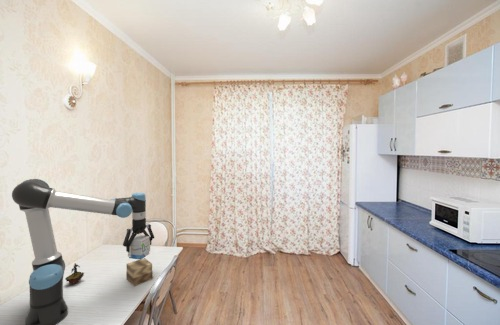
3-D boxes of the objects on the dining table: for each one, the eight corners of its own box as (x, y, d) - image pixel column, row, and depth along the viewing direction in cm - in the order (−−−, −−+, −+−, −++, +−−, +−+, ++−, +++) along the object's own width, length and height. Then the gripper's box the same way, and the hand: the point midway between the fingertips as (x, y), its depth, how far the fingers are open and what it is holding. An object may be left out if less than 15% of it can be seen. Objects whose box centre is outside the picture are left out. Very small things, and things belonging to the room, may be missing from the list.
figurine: (75, 278, 144) (74, 259, 144) (87, 279, 144) (87, 259, 143) (61, 287, 135) (61, 267, 134) (74, 288, 134) (74, 267, 134)
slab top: (133, 278, 137) (133, 270, 137) (126, 271, 144) (126, 263, 144) (152, 271, 145) (152, 263, 145) (144, 265, 152) (144, 257, 152)
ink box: (141, 259, 139) (140, 240, 139) (128, 258, 141) (128, 239, 141) (149, 253, 148) (149, 235, 147) (138, 252, 149) (137, 234, 149)
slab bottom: (134, 286, 137) (134, 278, 137) (126, 280, 144) (126, 272, 144) (152, 279, 146) (152, 271, 145) (144, 273, 153) (144, 265, 152)
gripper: (121, 223, 132) (121, 262, 133) (160, 215, 150) (160, 249, 151) (115, 221, 137) (116, 258, 138) (154, 213, 155) (154, 246, 156)
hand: (139, 253), depth 144 cm, fingers closed on ink box, 11 cm apart
